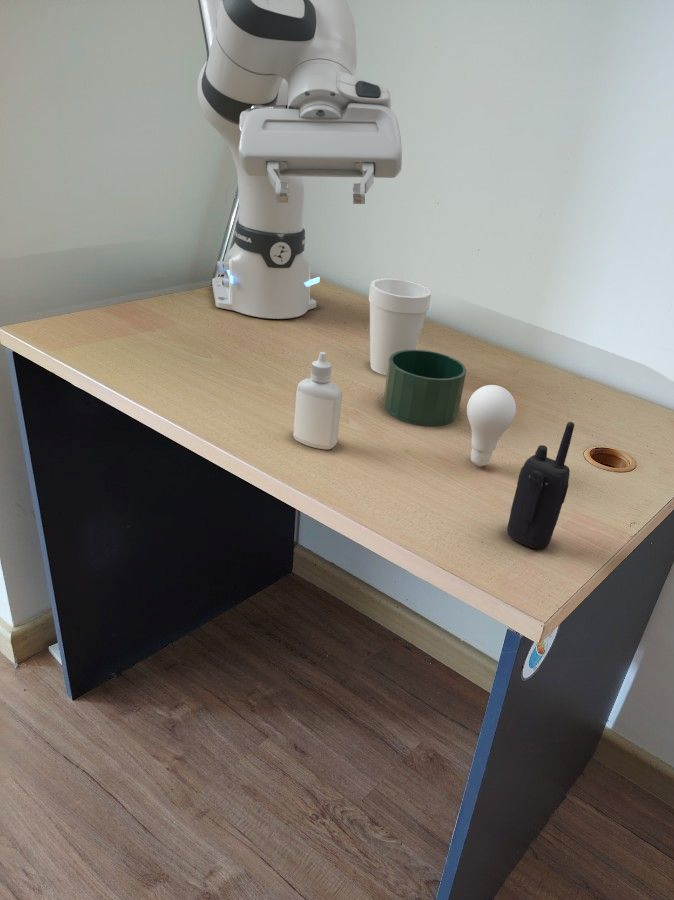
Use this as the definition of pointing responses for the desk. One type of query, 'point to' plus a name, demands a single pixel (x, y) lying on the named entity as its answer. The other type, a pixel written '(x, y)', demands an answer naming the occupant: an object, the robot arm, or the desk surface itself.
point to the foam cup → (395, 318)
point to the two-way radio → (540, 495)
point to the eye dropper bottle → (318, 407)
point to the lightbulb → (489, 420)
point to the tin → (424, 387)
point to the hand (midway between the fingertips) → (320, 200)
